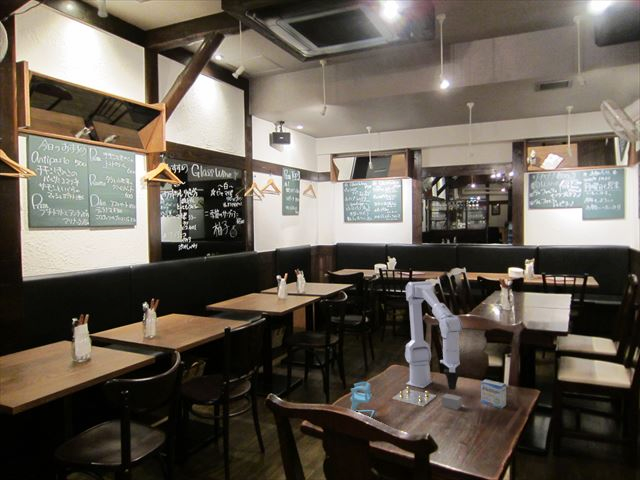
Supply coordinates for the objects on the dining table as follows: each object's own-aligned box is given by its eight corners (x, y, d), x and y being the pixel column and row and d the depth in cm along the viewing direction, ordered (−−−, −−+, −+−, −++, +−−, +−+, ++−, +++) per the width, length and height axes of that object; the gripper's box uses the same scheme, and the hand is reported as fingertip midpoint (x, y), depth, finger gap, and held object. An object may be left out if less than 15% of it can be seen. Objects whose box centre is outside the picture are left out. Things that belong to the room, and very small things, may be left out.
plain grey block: (442, 401, 170) (442, 390, 170) (470, 408, 163) (470, 396, 163) (432, 409, 163) (432, 397, 163) (461, 417, 156) (461, 404, 156)
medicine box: (480, 404, 165) (480, 381, 165) (485, 400, 169) (485, 378, 168) (502, 409, 160) (501, 386, 160) (506, 406, 163) (506, 383, 163)
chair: (352, 410, 162) (352, 378, 162) (374, 412, 160) (374, 380, 159) (347, 419, 155) (346, 385, 155) (370, 421, 152) (369, 387, 152)
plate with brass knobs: (405, 391, 180) (405, 383, 180) (436, 397, 173) (436, 390, 173) (392, 400, 171) (392, 392, 171) (423, 407, 163) (423, 399, 163)
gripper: (439, 343, 170) (439, 378, 171) (440, 354, 156) (441, 391, 156) (458, 344, 169) (458, 379, 169) (461, 355, 155) (461, 393, 155)
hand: (451, 385), depth 163 cm, fingers open, 7 cm apart
